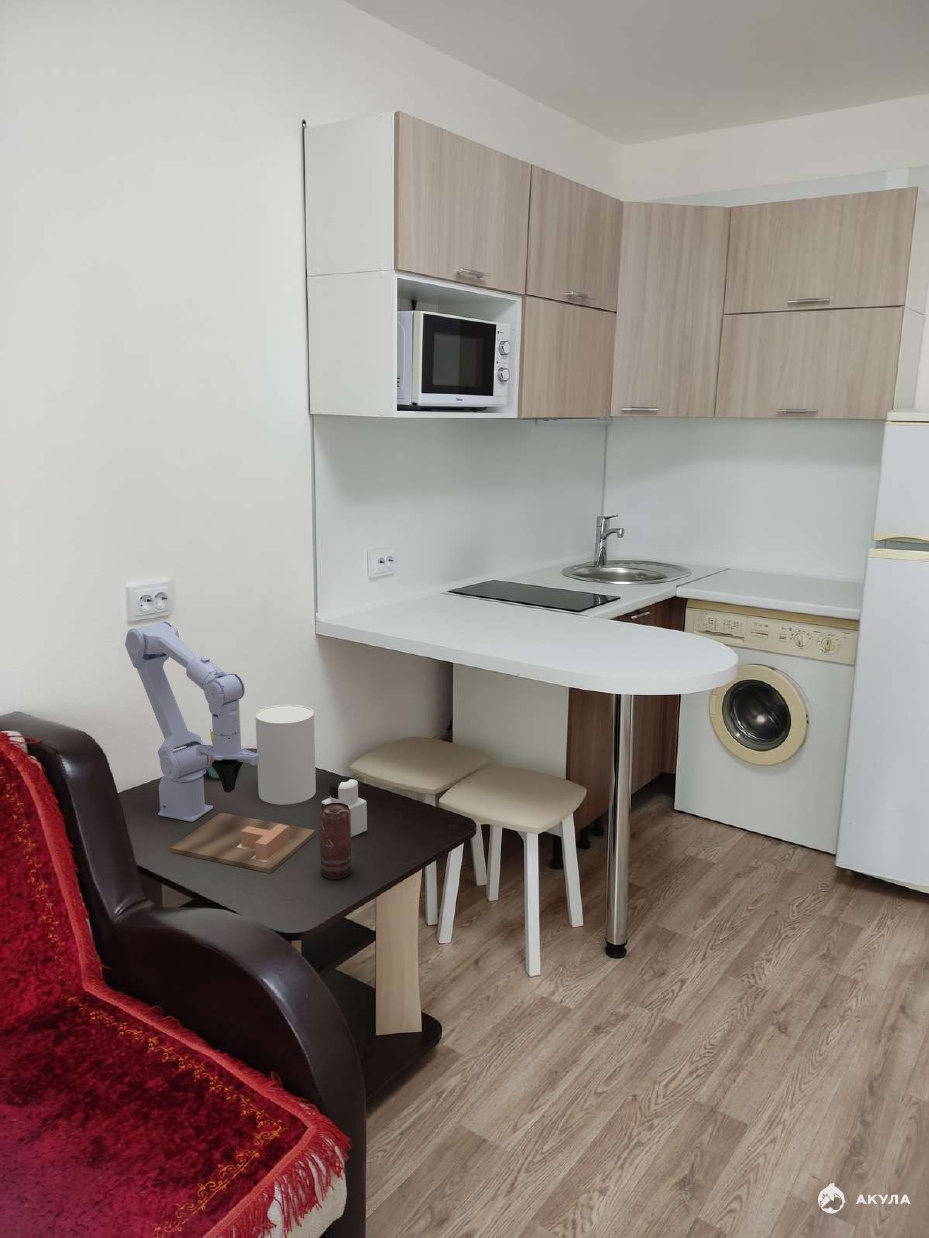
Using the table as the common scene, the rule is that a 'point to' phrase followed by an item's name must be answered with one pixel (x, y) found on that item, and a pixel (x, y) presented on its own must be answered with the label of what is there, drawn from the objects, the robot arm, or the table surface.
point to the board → (237, 843)
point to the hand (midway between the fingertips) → (229, 790)
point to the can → (335, 840)
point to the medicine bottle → (349, 802)
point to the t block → (265, 840)
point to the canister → (286, 753)
